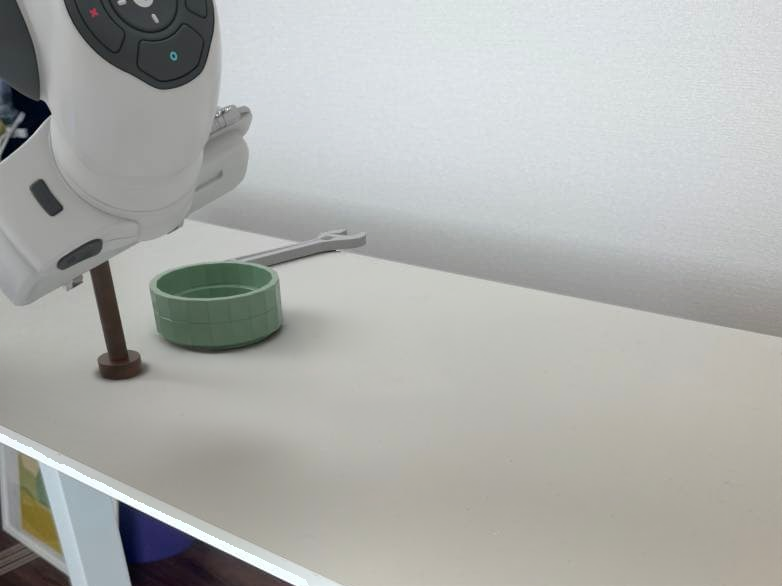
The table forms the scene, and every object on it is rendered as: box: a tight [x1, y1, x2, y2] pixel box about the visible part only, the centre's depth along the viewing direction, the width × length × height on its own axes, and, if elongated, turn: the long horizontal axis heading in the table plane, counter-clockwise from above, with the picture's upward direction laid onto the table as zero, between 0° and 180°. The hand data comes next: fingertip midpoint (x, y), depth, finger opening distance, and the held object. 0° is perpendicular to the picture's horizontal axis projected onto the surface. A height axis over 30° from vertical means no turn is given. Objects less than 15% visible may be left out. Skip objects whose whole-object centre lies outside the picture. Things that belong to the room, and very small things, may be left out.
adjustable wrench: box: [222, 228, 367, 267], centre depth 122 cm, size 25×6×2 cm, turn 127°
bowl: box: [148, 260, 284, 351], centre depth 96 cm, size 15×15×6 cm
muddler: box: [88, 259, 144, 380], centre depth 83 cm, size 4×4×17 cm
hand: (119, 250), depth 65 cm, fingers open, 8 cm apart
